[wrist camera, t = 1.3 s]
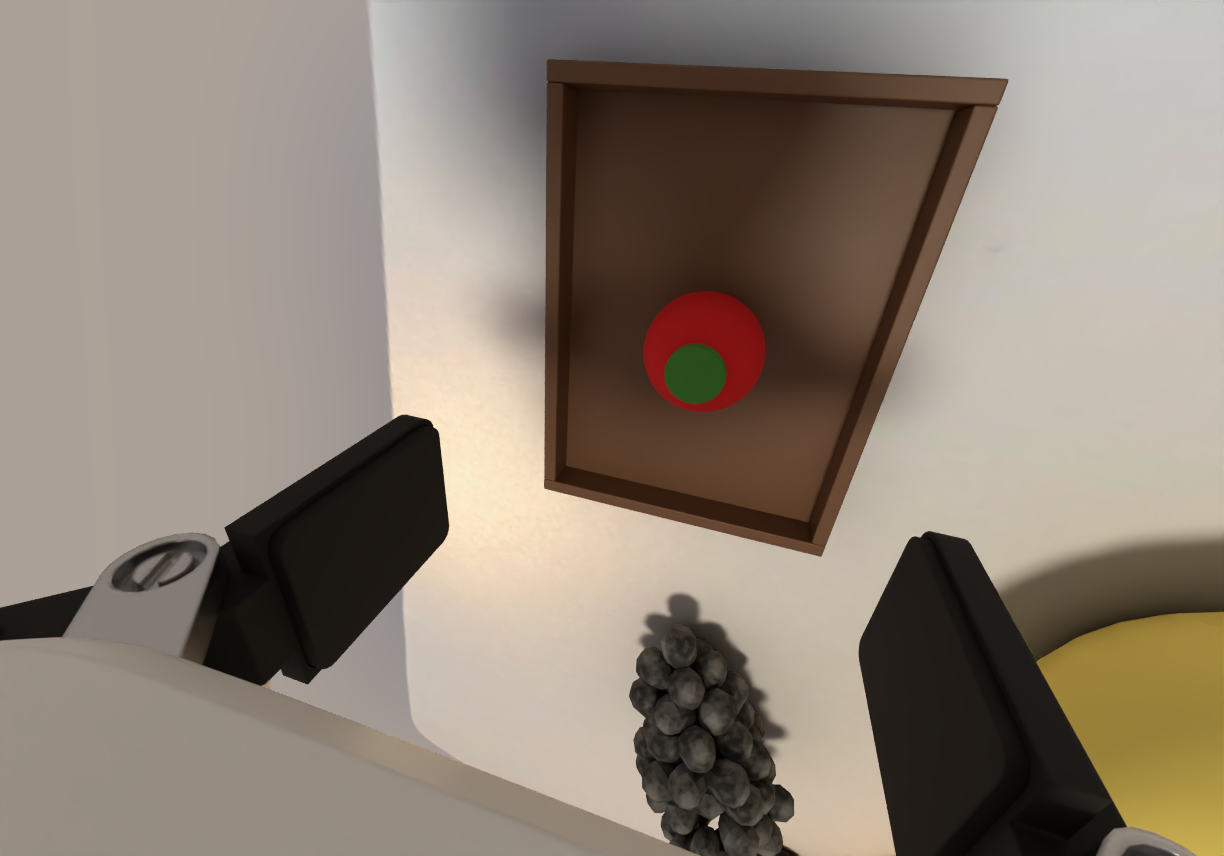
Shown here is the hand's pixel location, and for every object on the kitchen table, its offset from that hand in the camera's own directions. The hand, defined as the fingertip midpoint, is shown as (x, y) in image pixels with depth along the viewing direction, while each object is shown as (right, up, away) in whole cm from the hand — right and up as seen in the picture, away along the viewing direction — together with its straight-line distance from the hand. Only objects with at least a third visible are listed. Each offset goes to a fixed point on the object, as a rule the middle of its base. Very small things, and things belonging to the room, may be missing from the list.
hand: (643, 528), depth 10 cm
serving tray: (+4, +6, +10) cm, 13 cm away
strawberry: (+3, +6, +10) cm, 12 cm away
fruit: (+6, -14, +21) cm, 25 cm away
